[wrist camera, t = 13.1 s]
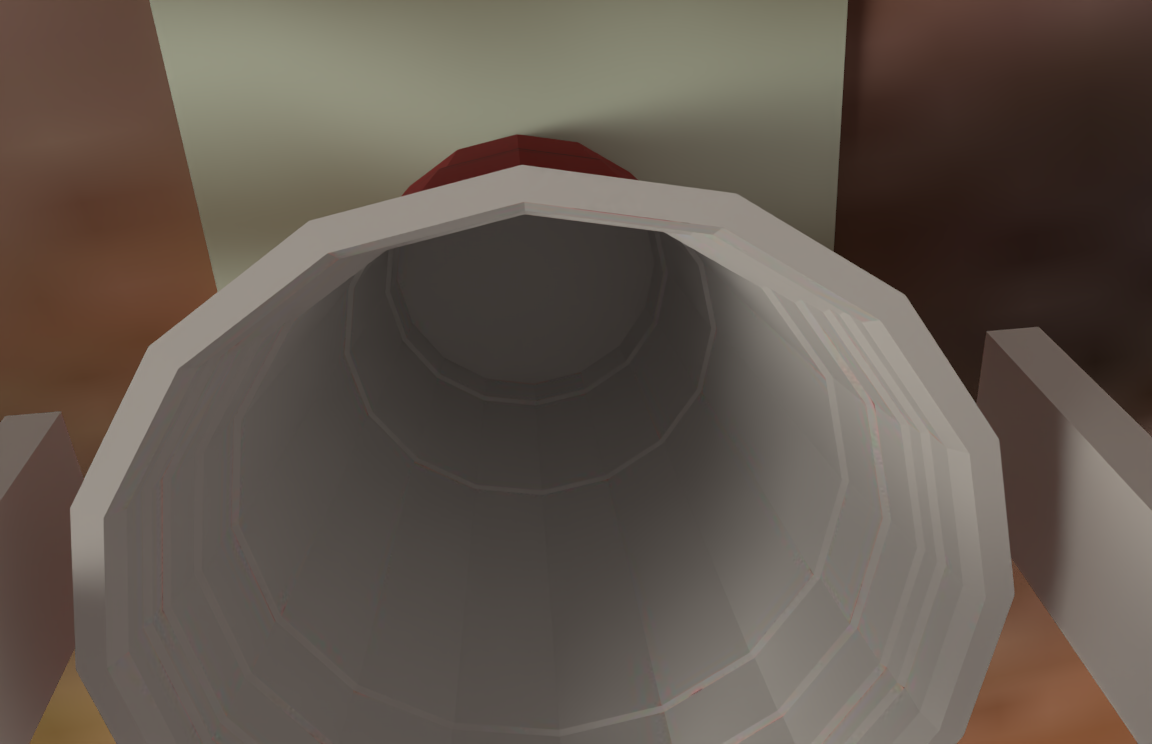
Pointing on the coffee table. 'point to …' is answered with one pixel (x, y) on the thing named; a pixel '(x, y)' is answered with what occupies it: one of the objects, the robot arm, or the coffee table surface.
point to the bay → (496, 100)
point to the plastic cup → (543, 484)
